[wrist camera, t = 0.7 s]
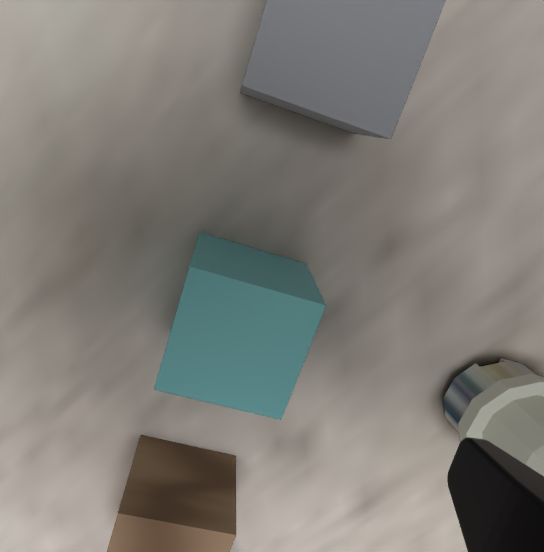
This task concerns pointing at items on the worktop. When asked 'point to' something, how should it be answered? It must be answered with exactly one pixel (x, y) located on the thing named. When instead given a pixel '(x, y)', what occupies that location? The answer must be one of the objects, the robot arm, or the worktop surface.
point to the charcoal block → (341, 59)
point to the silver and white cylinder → (500, 409)
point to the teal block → (241, 328)
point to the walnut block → (177, 500)
